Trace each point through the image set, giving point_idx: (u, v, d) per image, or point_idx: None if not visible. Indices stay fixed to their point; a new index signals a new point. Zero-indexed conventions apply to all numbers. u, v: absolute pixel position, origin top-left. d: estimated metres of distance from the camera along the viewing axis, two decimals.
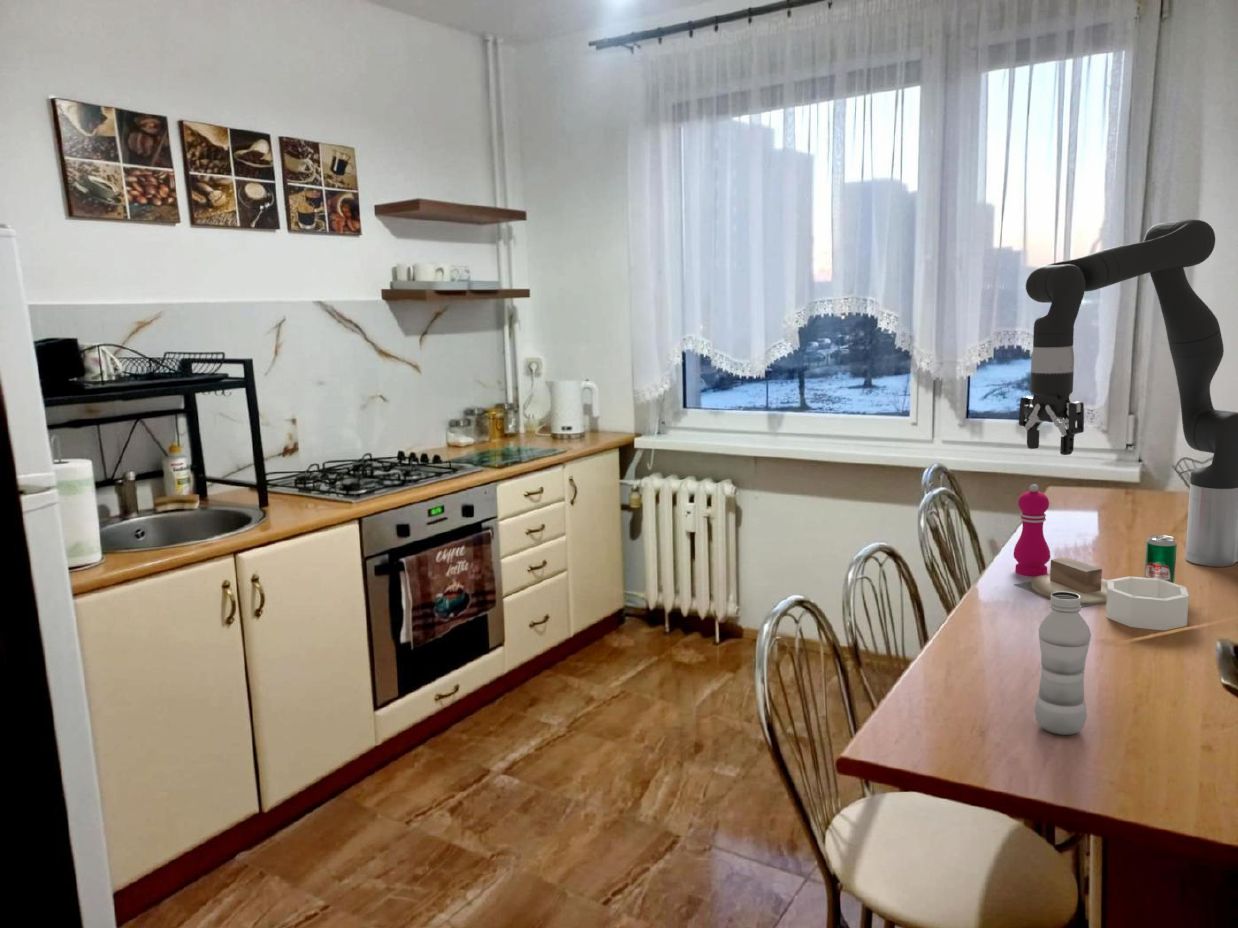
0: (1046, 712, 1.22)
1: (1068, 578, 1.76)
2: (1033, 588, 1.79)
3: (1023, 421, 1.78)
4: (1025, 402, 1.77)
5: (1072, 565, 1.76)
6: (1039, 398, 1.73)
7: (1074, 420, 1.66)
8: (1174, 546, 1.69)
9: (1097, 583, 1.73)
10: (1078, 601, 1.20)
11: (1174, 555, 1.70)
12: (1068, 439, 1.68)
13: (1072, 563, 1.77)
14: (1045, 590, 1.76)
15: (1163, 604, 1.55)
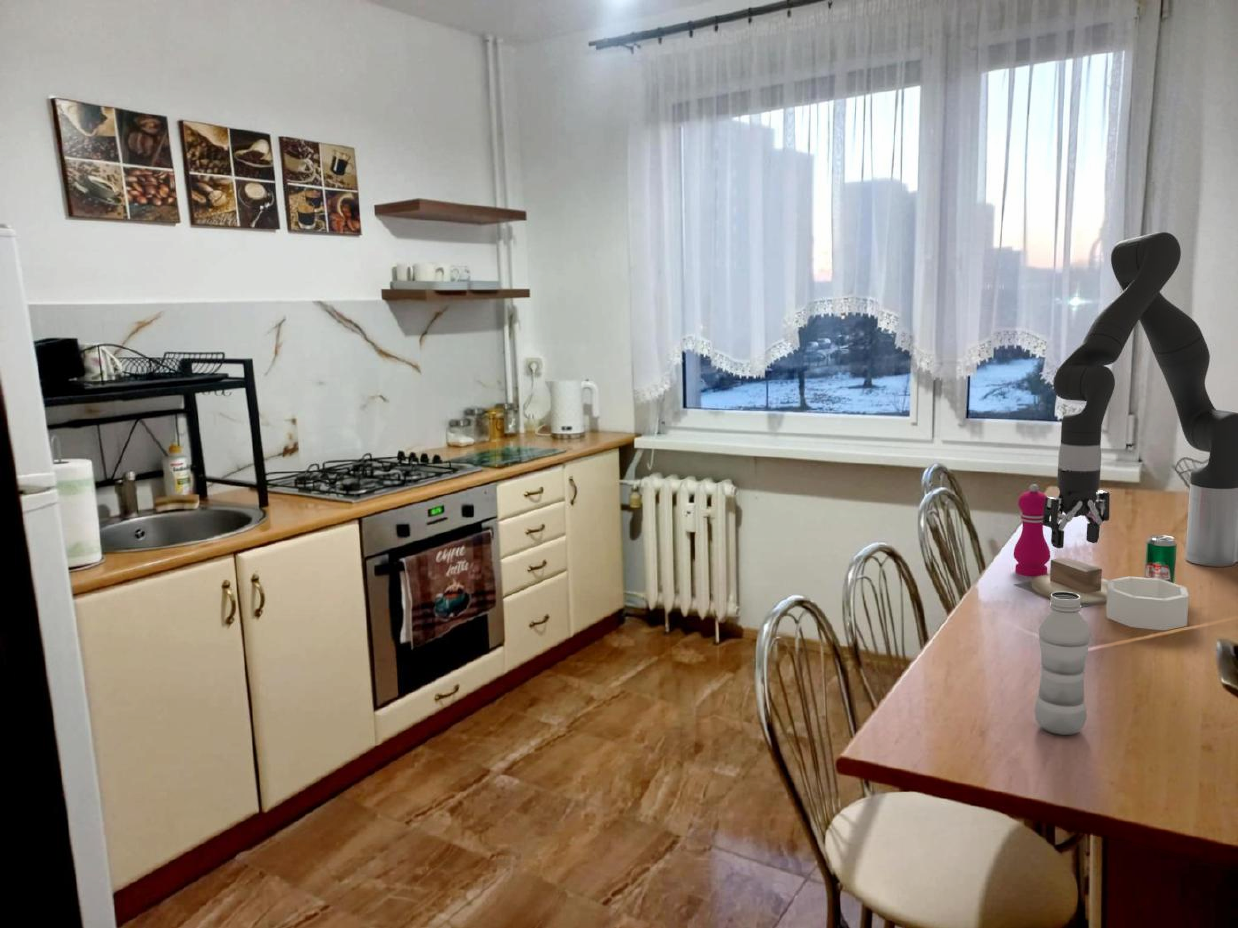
0: (1046, 712, 1.22)
1: (1068, 578, 1.76)
2: (1033, 588, 1.79)
3: None
4: None
5: (1072, 565, 1.76)
6: (1074, 495, 1.73)
7: None
8: (1174, 546, 1.69)
9: (1097, 583, 1.73)
10: (1078, 601, 1.20)
11: (1174, 555, 1.70)
12: None
13: (1072, 563, 1.77)
14: (1045, 590, 1.76)
15: (1163, 604, 1.55)
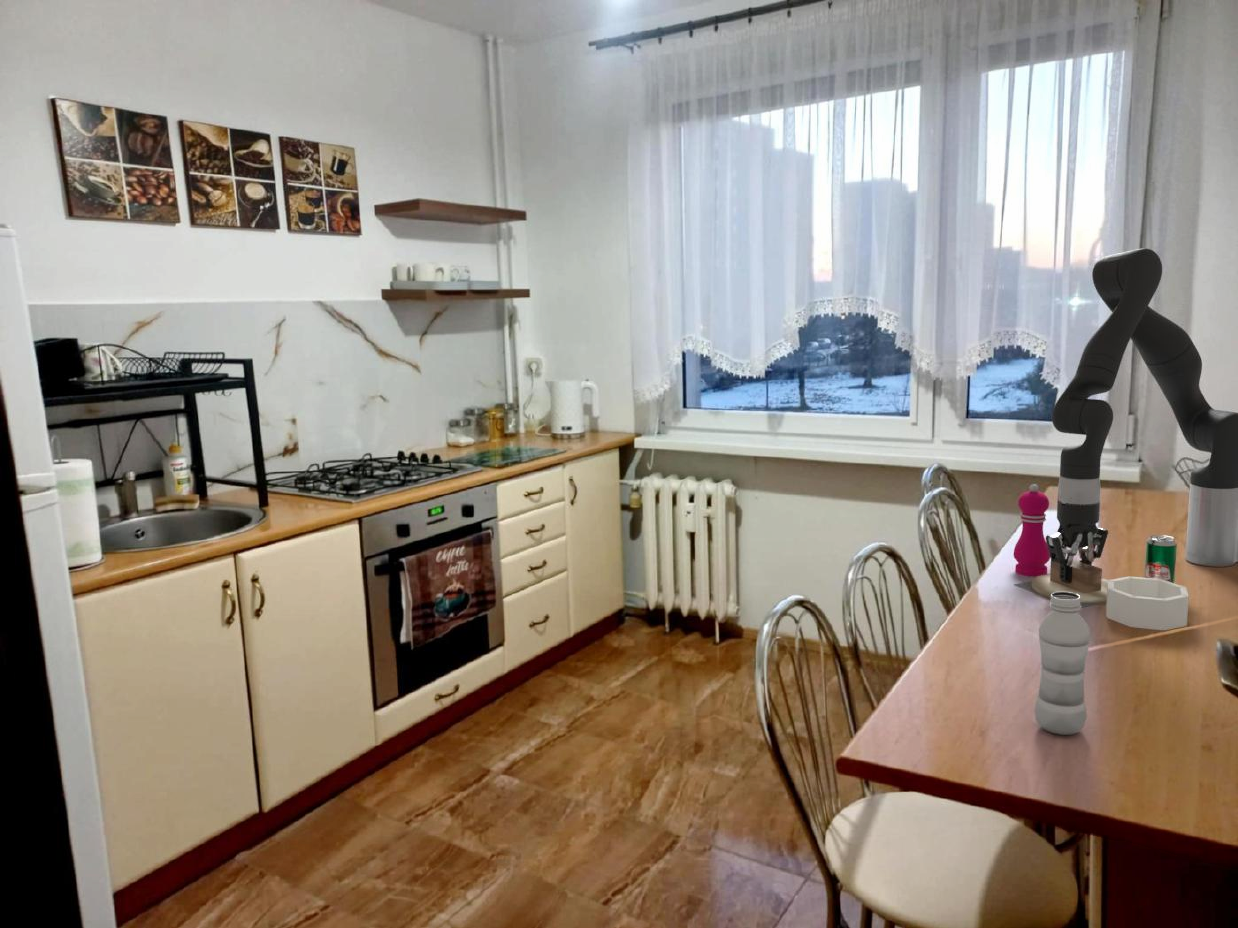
0: (1046, 712, 1.22)
1: None
2: (1033, 588, 1.79)
3: None
4: None
5: (1072, 565, 1.76)
6: (1074, 528, 1.74)
7: None
8: (1174, 546, 1.69)
9: (1097, 583, 1.73)
10: (1078, 601, 1.20)
11: (1174, 555, 1.70)
12: None
13: (1072, 563, 1.77)
14: (1045, 590, 1.76)
15: (1163, 604, 1.55)
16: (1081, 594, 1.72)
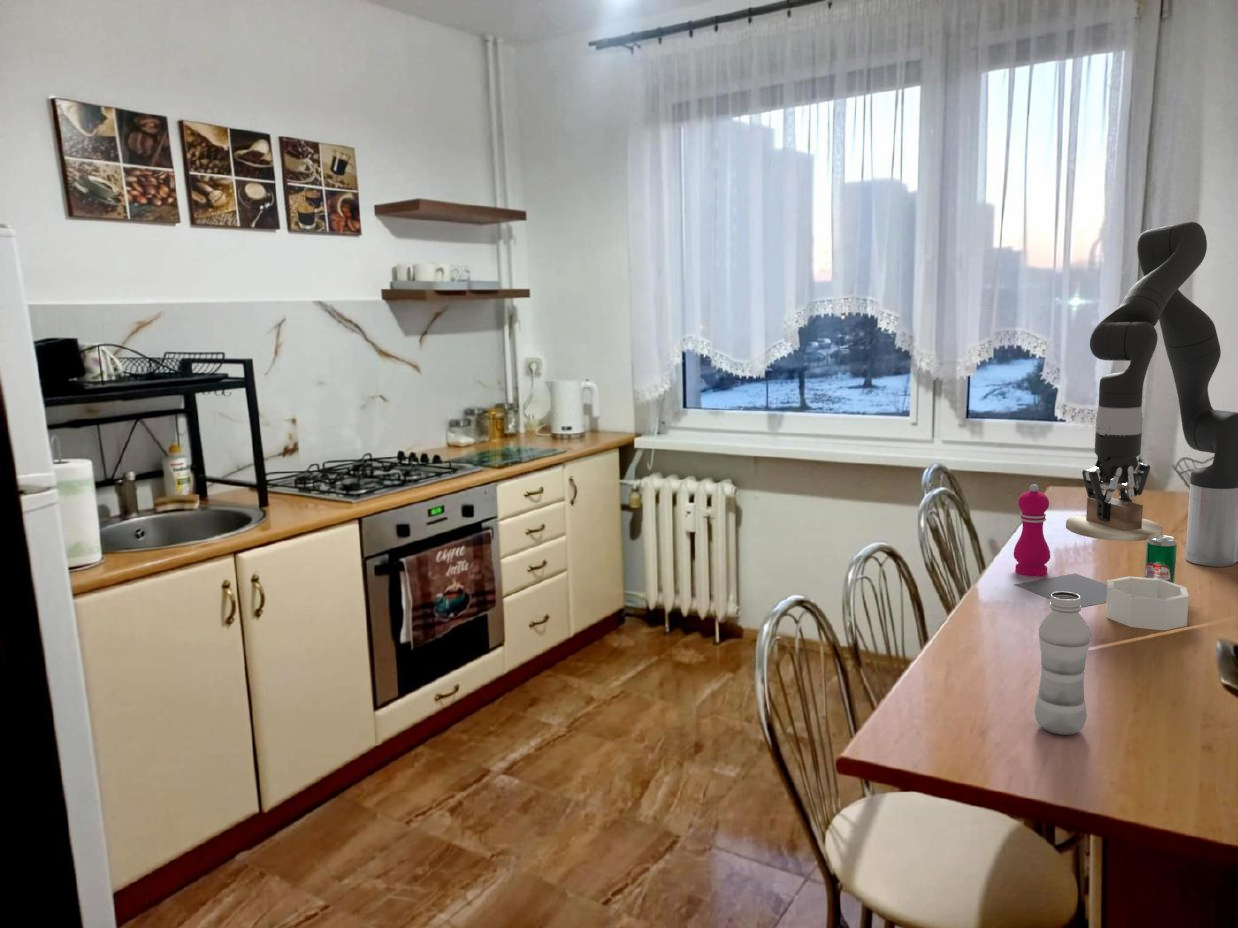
0: (1046, 712, 1.22)
1: None
2: (1068, 527, 1.68)
3: None
4: None
5: (1110, 502, 1.65)
6: (1113, 462, 1.63)
7: None
8: (1174, 546, 1.69)
9: (1137, 520, 1.62)
10: (1078, 601, 1.20)
11: (1174, 555, 1.70)
12: None
13: (1110, 500, 1.66)
14: (1081, 528, 1.65)
15: (1163, 604, 1.55)
16: (1120, 532, 1.61)
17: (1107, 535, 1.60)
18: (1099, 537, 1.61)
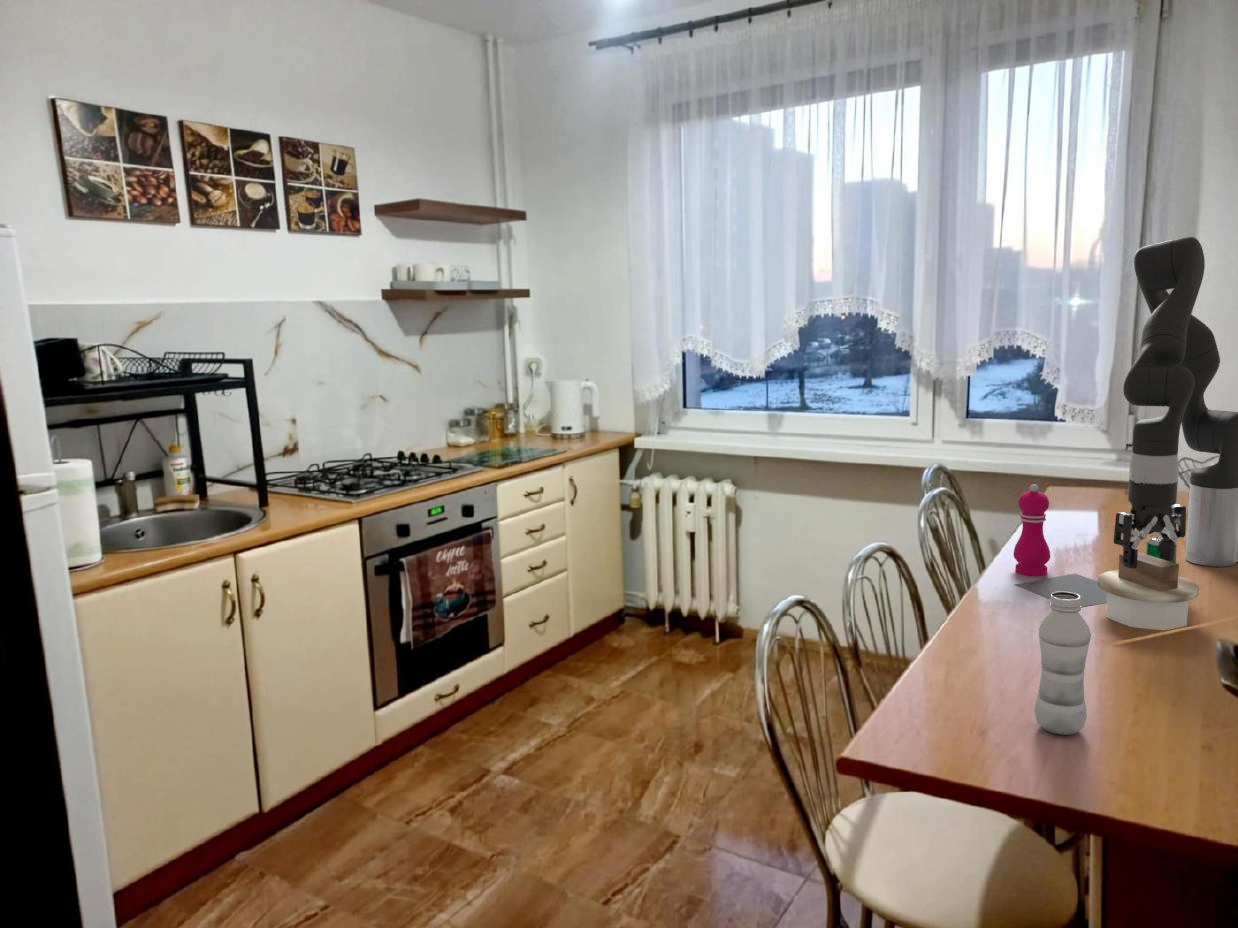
0: (1046, 712, 1.22)
1: (1141, 574, 1.60)
2: (1100, 585, 1.62)
3: None
4: None
5: (1145, 560, 1.60)
6: (1148, 510, 1.57)
7: None
8: None
9: (1173, 580, 1.57)
10: (1078, 601, 1.20)
11: (1174, 555, 1.70)
12: None
13: (1144, 558, 1.61)
14: (1115, 587, 1.59)
15: (1163, 604, 1.55)
16: (1156, 592, 1.56)
17: (1143, 596, 1.55)
18: (1135, 598, 1.56)
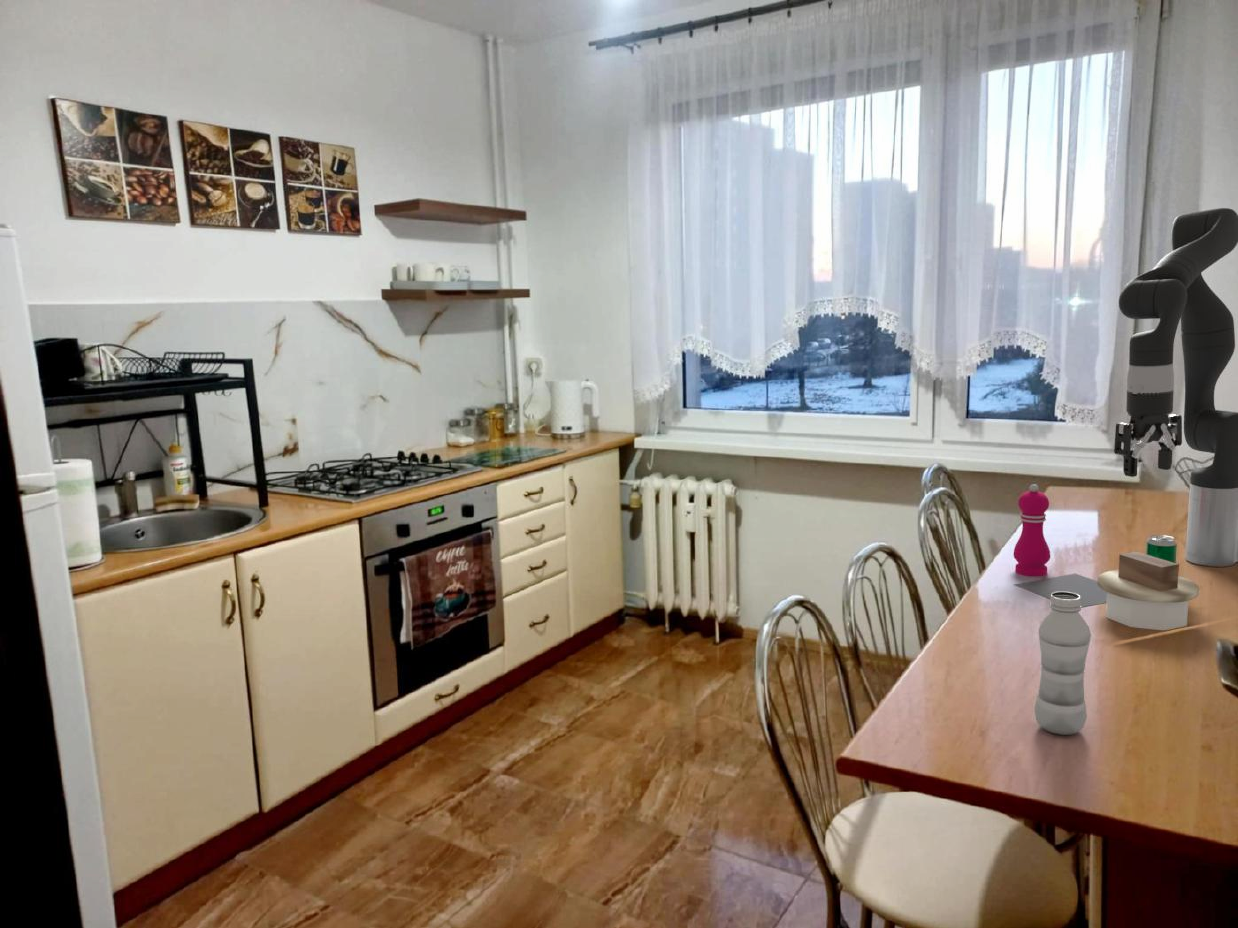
0: (1046, 712, 1.22)
1: (1141, 574, 1.60)
2: (1100, 585, 1.62)
3: None
4: None
5: (1145, 560, 1.60)
6: (1147, 420, 1.63)
7: None
8: (1174, 546, 1.69)
9: (1173, 580, 1.57)
10: (1078, 601, 1.20)
11: (1174, 555, 1.70)
12: None
13: (1144, 558, 1.61)
14: (1115, 587, 1.59)
15: (1163, 604, 1.55)
16: (1156, 592, 1.56)
17: (1143, 596, 1.55)
18: (1135, 598, 1.56)
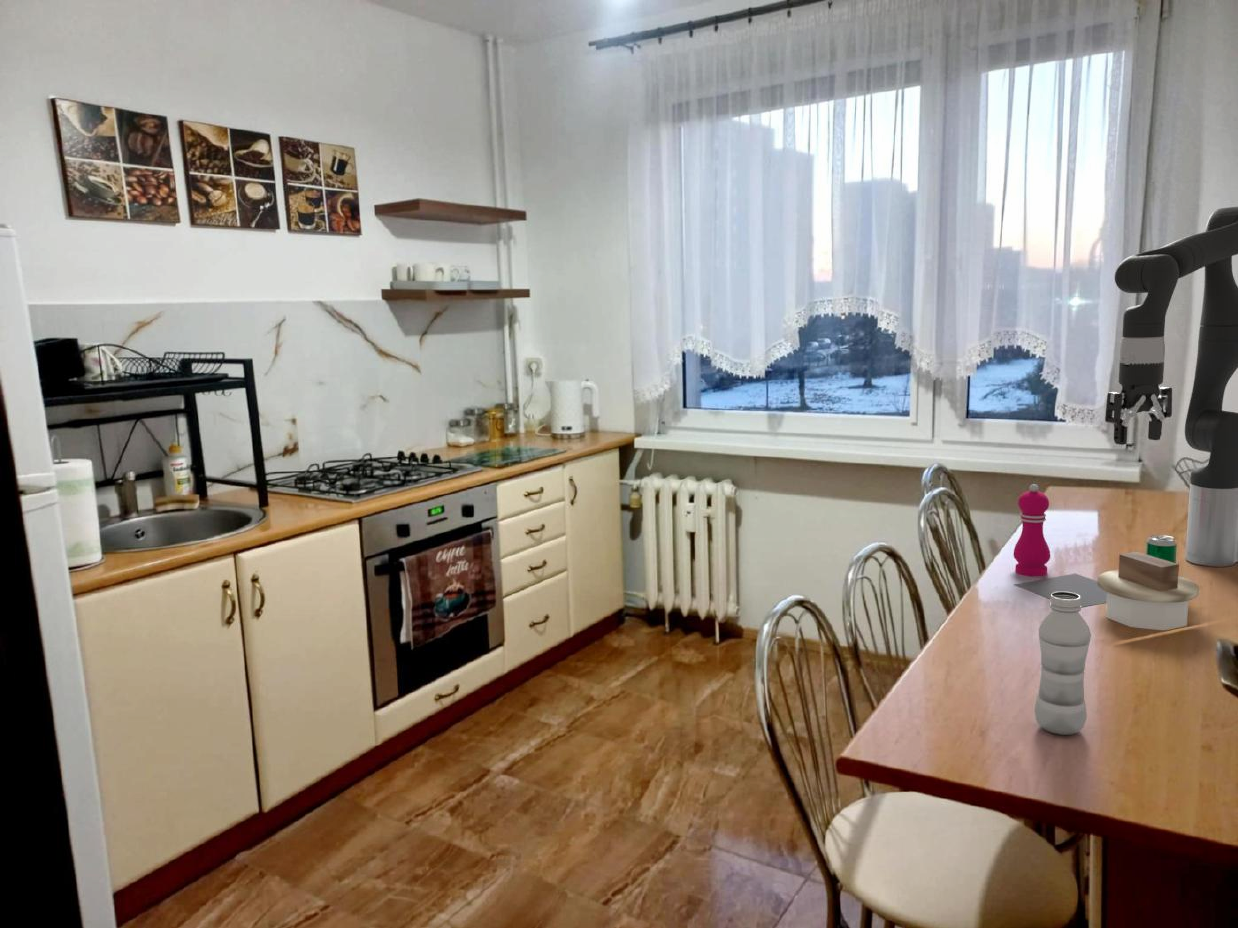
0: (1046, 712, 1.22)
1: (1141, 574, 1.60)
2: (1100, 585, 1.62)
3: None
4: None
5: (1145, 560, 1.60)
6: (1137, 390, 1.70)
7: None
8: (1174, 546, 1.69)
9: (1173, 580, 1.57)
10: (1078, 601, 1.20)
11: (1174, 555, 1.70)
12: None
13: (1144, 558, 1.61)
14: (1115, 587, 1.59)
15: (1163, 604, 1.55)
16: (1156, 592, 1.56)
17: (1143, 596, 1.55)
18: (1135, 598, 1.56)
